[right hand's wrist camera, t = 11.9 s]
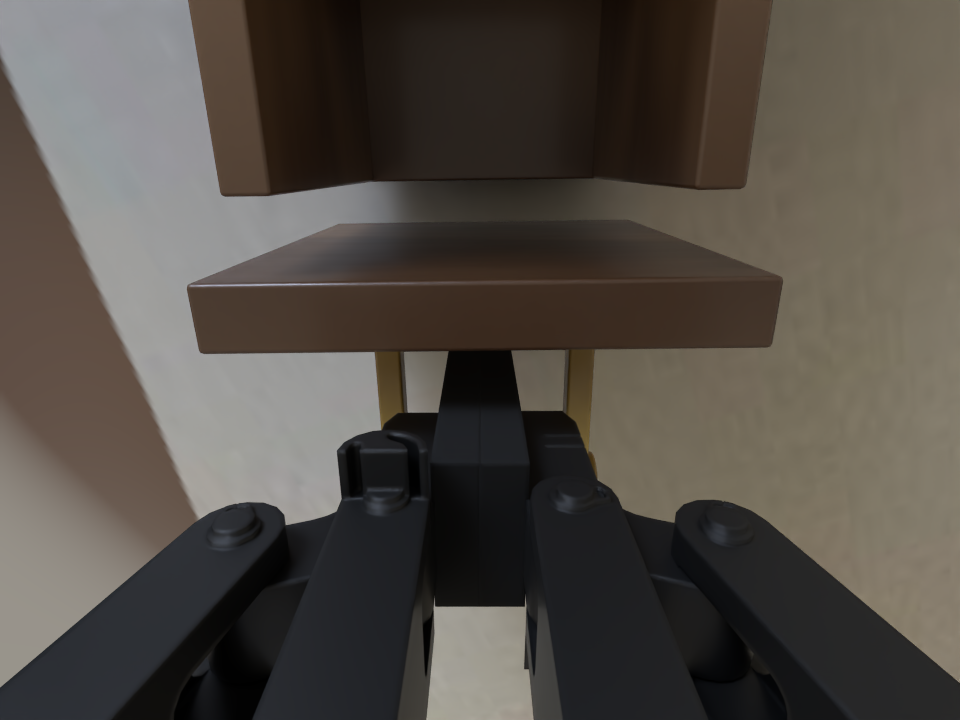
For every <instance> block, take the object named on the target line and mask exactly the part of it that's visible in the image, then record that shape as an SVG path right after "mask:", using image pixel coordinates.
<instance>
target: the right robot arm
mask: <svg viewBox="0 0 960 720" xmlns="http://www.w3.org/2000/svg"><path fill="white" fill-rule="evenodd" d="M337 456H338V466H339V476H340V486H341V496H342V500H341V502H340V505H339V507H338V510H337V512H335V513H332V514H330V515H328V516H325V517H322V518H318V519H314V520H310V521H305V522H300V523H295V524H291V525H286V524H285V517H284V514H283V513H282V512H281V511H280V510H279V509H278V508H277V507H275V506H272V505H269V504H266V503H252V502H246V503H239V504H233V505H229V506H226V507H224V508H221V509H219V510H216V511H214V512H211V513H209V514H208V515H206V516H204V517H203V518H201V519H200V520H198V521H197V522H195V523H194V524H193V525H191V526H190V527H189V528H188V529H187V530H186V531H184V532H183V533H182V534H181V535H180V536H179V537H177V538H176V539H175V540H174V541H173V542H171V543H170V544H169V545H168V546H167V547H166V548H164V549H163V550H162V551H161V552H160V553H159V554H157V555H156V556H155V557H154V558H153V559H151V560H150V561H149V562H148V563H147V564H146V565H144V566H143V567H142V568H141V569H140V570H138V571H137V572H136V573H135V574H134V575H133V576H131V577H130V578H129V579H128V580H127V581H125V582H124V583H123V584H122V585H121V586H120V587H118V588H117V589H116V590H115V591H114V592H112V593H111V594H110V595H109V596H108V597H107V598H105V599H104V600H103V601H102V602H101V603H100V604H98V605H97V606H96V607H95V608H94V609H92V610H91V611H90V612H89V613H88V614H87V615H85V616H84V617H83V618H82V619H81V620H79V621H78V622H77V623H76V624H75V625H74V626H72V627H71V628H70V629H69V630H68V631H67V632H65V633H64V634H63V635H62V636H61V637H59V638H58V639H57V640H56V641H55V642H54V643H52V644H51V645H50V646H49V647H48V648H46V649H45V650H44V651H43V652H42V653H41V654H39V655H38V656H37V657H36V658H35V659H33V660H32V661H31V662H30V663H29V664H28V665H26V666H25V667H24V668H23V669H22V670H20V671H19V672H18V673H17V674H16V675H15V676H13V677H12V678H11V679H10V680H9V681H8V682H6V683H5V684H4V685H3V686H2V687H0V720H426V717H427V707H428V696H429V685H430V675H431V664H432V653H433V643H434V609H433V607H434V598H435V607H525V596H526V605H527V609H526V636H525V662H524V669H529V674H530V685H531V695H532V706H533V716H534V720H960V683H959V682H958V681H957V680H955V679H954V678H953V677H952V676H951V675H949V674H948V673H947V672H946V671H945V670H943V669H942V668H941V667H940V666H939V665H938V664H936V663H935V662H934V661H933V660H932V659H930V658H929V657H928V656H927V655H926V654H924V653H923V652H922V651H921V650H920V649H918V648H917V647H916V646H915V645H914V644H913V643H911V642H910V641H909V640H908V639H907V638H905V637H904V636H903V635H902V634H901V633H899V632H898V631H897V630H896V629H895V628H893V627H892V626H891V625H890V624H889V623H888V622H886V621H885V620H884V619H883V618H882V617H880V616H879V615H878V614H877V613H876V612H874V611H873V610H872V609H871V608H870V607H868V606H867V605H866V604H865V603H864V602H863V601H861V600H860V599H859V598H858V597H857V596H855V595H854V594H853V593H852V592H851V591H849V590H848V589H847V588H846V587H845V586H844V585H842V584H841V583H840V582H839V581H838V580H836V579H835V578H834V577H833V576H832V575H830V574H829V573H828V572H827V571H826V570H824V569H823V568H822V567H821V566H820V565H819V564H817V563H816V562H815V561H814V560H813V559H811V558H810V557H809V556H808V555H807V554H805V553H804V552H803V551H802V550H801V549H799V548H798V547H797V546H796V545H795V544H794V543H792V542H791V541H790V540H789V539H788V538H786V537H785V536H784V535H783V534H782V533H780V532H779V531H778V530H777V529H776V528H775V527H773V526H772V525H771V524H770V523H769V522H767V521H766V520H765V519H763V518H762V517H760V516H758V515H757V514H755V513H754V512H752V511H751V510H748V509H746V508H743V507H740V506H738V505H735V504H733V503H729V502H725V501H724V502H722V501H719V500H696V501H693V502H690V503H687V504H684V505H683V506H682V507H681V508H680V509H679V510H678V511H677V512H676V517H675V523H671V522H666V521H662V520H657V519H652V518H647V517H643V516H640V515H636V514H633V513H631V512H628V511H626V510H624V509H622V506H621V504H620V502H619V499H618V497H617V496H616V495H615V493H614V492H613V491H612V489H610V488H609V487H607V486H606V485H604V484H603V483H601V482H599V481H598V480H597V477H596V475H595V472H594V469H593V467H592V464H591V461H590V459H589V456H588V453H587V450H586V448H585V445H584V442H583V440H582V437H581V434H580V432H579V429H578V426H577V423H576V422H575V421H574V420H573V419H572V418H570V417H569V416H568V415H567V414H565V413H564V412H563V411H521V407H520V401H519V395H518V389H517V383H516V377H515V371H514V365H513V359H512V353H511V350H499V351H449V352H448V358H447V364H446V370H445V376H444V382H443V388H442V394H441V400H440V406H439V412H438V413H397V414H396V415H394V416H393V417H392V418H391V419H389V420H388V421H387V422H386V423H384V425H383V428H382V430H380V431H372V432H368V433H364V434H361V435H357V436H355V437H353V438H352V439H350V440H348V441H346V442H344V443H343V444H342V446H341V447H340V448H339V449H338V450H337Z"/></svg>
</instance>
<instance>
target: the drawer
mask: <svg viewBox="0 0 960 720" xmlns="http://www.w3.org/2000/svg"><path fill="white" fill-rule="evenodd" d="M772 1H773V0H188V2H189V8H190V14H191V20H192V26H193V32H194V38H195V44H196V50H197V55H198V61H199V67H200V73H201V79H202V85H203V91H204V97H205V103H206V109H207V115H208V121H209V127H210V133H211V139H212V145H213V151H214V157H215V163H216V169H217V175H218V181H219V187H220V193H221V195H223V196H225V197H234V196H272V195H279V194H286V193H294V192H301V191H308V190H315V189H322V188H330V187H337V186H344V185H351V184H358V183H365V182H378V181H447V180H516V179H584V178H596V179H605V180H614V181H623V182H632V183H641V184H650V185H659V186H668V187H678V188H687V189H696V190H719V189H742V188H744V187H745V185H746V181H747V174H748V167H749V161H750V154H751V147H752V140H753V133H754V126H755V119H756V112H757V105H758V98H759V91H760V84H761V77H762V70H763V63H764V56H765V50H766V43H767V36H768V29H769V22H770V15H771V8H772ZM782 284H783V279H782V277H780V276H778V275H775V274H772V273H770V272H767V271H764V270H761V269H759V268H756V267H753V266H751V265H748V264H745V263H743V262H740V261H737V260H735V259H732V258H729V257H726V256H724V255H721V254H718V253H716V252H713V251H710V250H708V249H705V248H702V247H700V246H697V245H694V244H691V243H689V242H686V241H683V240H681V239H678V238H675V237H673V236H670V235H667V234H665V233H662V232H659V231H657V230H654V229H651V228H648V227H646V226H643V225H640V224H638V223H635V222H632V221H630V220H588V221H515V222H443V223H370V224H338V225H335V226H333V227H330V228H328V229H325V230H323V231H320V232H318V233H315V234H313V235H310V236H308V237H305V238H303V239H300V240H298V241H295V242H293V243H290V244H288V245H285V246H283V247H280V248H278V249H275V250H273V251H270V252H268V253H265V254H263V255H260V256H258V257H255V258H253V259H250V260H248V261H246V262H243V263H241V264H238V265H236V266H233V267H231V268H228V269H226V270H223V271H221V272H218V273H216V274H213V275H211V276H208V277H206V278H203V279H201V280H198V281H196V282H193V283H191V284H189V285H188V286H187V292H188V297H189V302H190V307H191V312H192V317H193V322H194V327H195V332H196V337H197V342H198V347H199V351H200V352H201V353H203V354H236V353H324V352H375V360H376V372H377V384H378V396H379V408H380V420H381V430H382V428H383V425H384V423H386V422H387V421H388V420H389V419H391V418H392V417H393V416H394V415H396V414H397V413H408V411H407V395H406V380H405V365H404V352H411V351H499V350H565V374H564V398H563V412H564V413H565V414H567V415H568V416H569V417H570V418H572V419H573V420H574V421H575V422H576V423H577V426H578V429H579V432H580V434H581V437H582V440H583V442H584V445H585V448H586V450H587V453H588V456H589V459H590V461H591V464H592V467H593V469H594V472H595V475H596V477H597V469H596V463H595V459H594V456H593V454H592V452H589V451H588V449H589V433H590V416H591V400H592V383H593V366H594V350H595V349H674V348H761V347H770V346H771V344H772V341H773V335H774V330H775V324H776V318H777V312H778V307H779V301H780V295H781V290H782Z"/></svg>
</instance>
